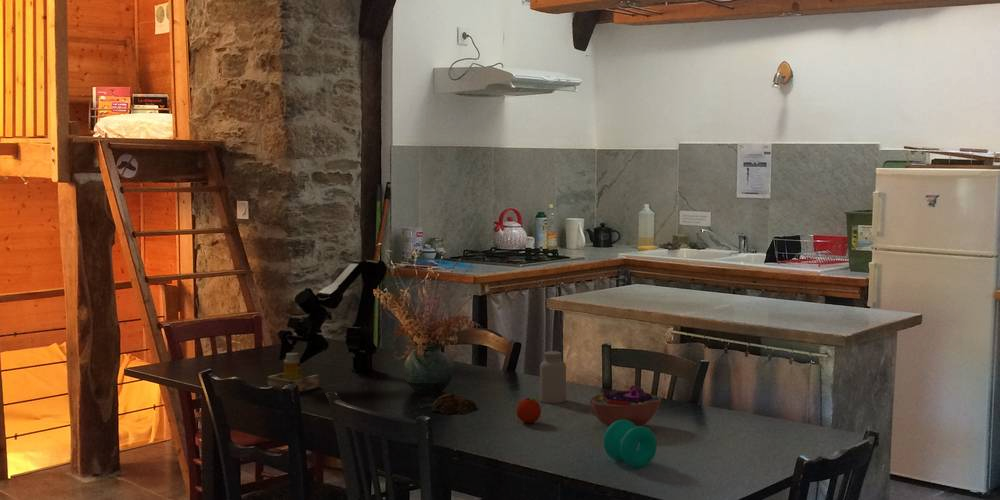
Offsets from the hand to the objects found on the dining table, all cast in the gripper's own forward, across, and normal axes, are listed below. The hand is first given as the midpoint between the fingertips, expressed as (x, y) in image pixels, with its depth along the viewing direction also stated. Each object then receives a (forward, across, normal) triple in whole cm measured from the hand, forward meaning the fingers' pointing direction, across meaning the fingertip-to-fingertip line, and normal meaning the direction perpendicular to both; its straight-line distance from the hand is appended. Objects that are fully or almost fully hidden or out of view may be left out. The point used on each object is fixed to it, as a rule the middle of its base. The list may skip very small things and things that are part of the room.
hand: (290, 361), depth 331 cm
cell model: (-5, +112, +18) cm, 114 cm away
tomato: (+2, +88, +11) cm, 89 cm away
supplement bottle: (+5, 0, +6) cm, 8 cm away
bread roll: (+2, +60, +12) cm, 61 cm away
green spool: (+16, +129, -3) cm, 130 cm away
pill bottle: (-16, +80, +29) cm, 86 cm away
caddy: (+6, 0, +7) cm, 9 cm away
